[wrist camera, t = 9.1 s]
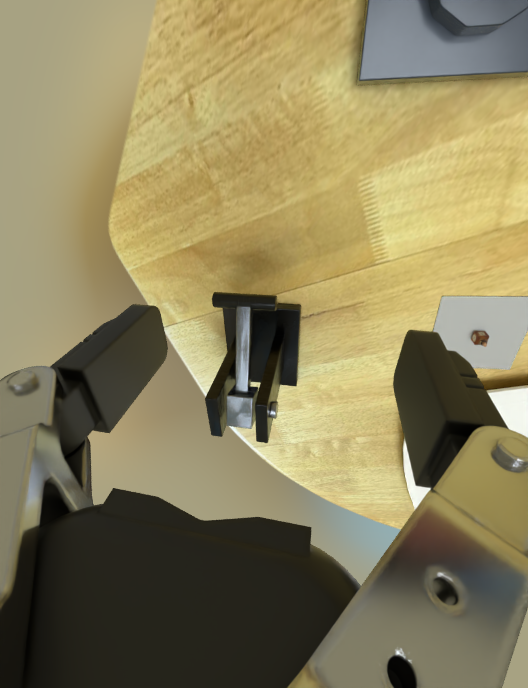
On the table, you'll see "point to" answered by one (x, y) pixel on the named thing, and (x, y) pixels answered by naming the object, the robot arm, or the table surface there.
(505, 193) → the table surface
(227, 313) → the lever bracket
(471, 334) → the grey square pad
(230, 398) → the press lever
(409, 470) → the plate
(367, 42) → the button box
